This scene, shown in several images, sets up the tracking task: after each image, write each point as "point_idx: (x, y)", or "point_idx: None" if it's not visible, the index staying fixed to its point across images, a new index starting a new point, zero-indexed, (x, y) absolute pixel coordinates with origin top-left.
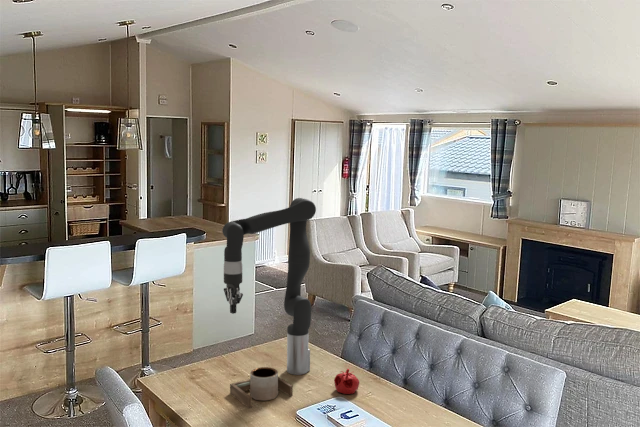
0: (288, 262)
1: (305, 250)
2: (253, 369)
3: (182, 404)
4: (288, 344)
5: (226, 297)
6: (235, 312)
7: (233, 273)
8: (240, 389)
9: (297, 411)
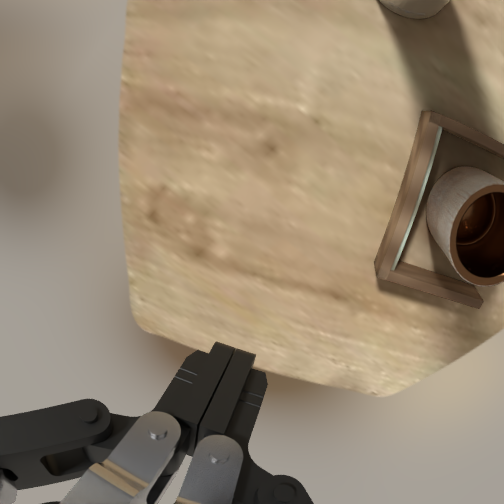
0: None
1: None
2: (450, 242)
3: (317, 365)
4: None
5: (66, 457)
6: (252, 362)
7: None
8: (430, 286)
9: None
